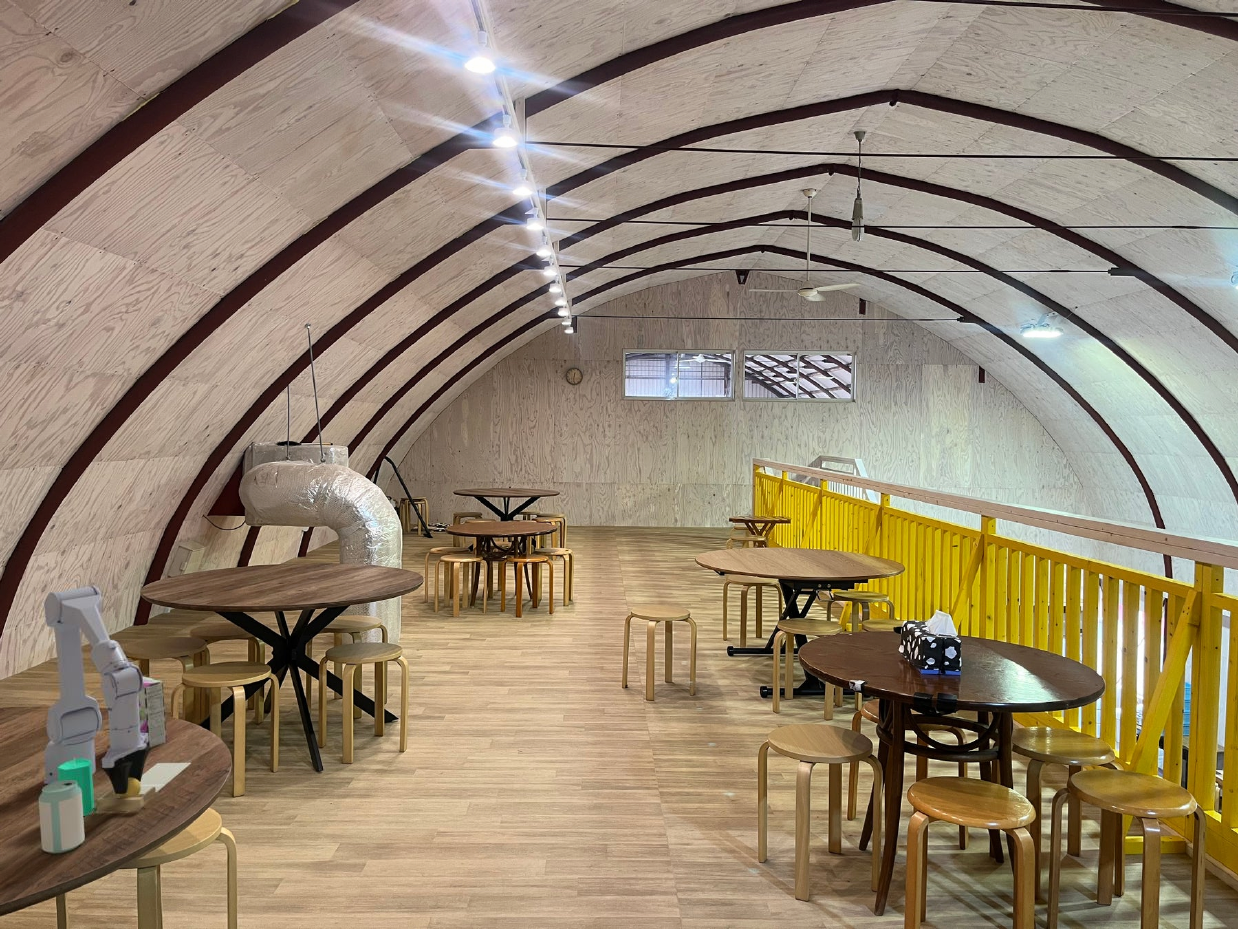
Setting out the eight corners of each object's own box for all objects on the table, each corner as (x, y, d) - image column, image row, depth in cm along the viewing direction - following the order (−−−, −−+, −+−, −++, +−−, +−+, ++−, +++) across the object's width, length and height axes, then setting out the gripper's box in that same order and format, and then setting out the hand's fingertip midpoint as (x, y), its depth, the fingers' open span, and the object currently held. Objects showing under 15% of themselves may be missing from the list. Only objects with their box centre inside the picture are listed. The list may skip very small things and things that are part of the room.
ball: (113, 804, 195) (111, 783, 194) (124, 794, 199) (123, 774, 199) (134, 803, 195) (133, 783, 194) (145, 794, 199) (144, 774, 199)
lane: (103, 809, 194) (102, 805, 194) (157, 766, 217) (157, 763, 216) (141, 808, 194) (140, 805, 194) (191, 766, 216) (191, 762, 216)
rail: (97, 812, 193) (96, 800, 193) (113, 799, 199) (112, 787, 199) (140, 811, 193) (140, 799, 193) (156, 798, 199) (155, 787, 199)
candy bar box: (123, 743, 232) (119, 679, 231) (142, 737, 236) (138, 673, 235) (148, 751, 226) (144, 685, 225) (168, 745, 230) (164, 680, 229)
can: (50, 840, 181) (46, 780, 180) (89, 835, 182) (86, 776, 181) (36, 857, 174) (32, 795, 173) (77, 852, 175) (73, 791, 175)
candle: (70, 822, 189) (67, 764, 188) (55, 815, 192) (51, 759, 191) (100, 810, 194) (96, 754, 193) (84, 804, 197) (81, 749, 196)
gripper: (124, 737, 188) (128, 802, 189) (160, 713, 203) (164, 773, 204) (90, 738, 188) (94, 802, 189) (128, 713, 203) (132, 774, 204)
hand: (128, 787), depth 197 cm, fingers open, 5 cm apart
